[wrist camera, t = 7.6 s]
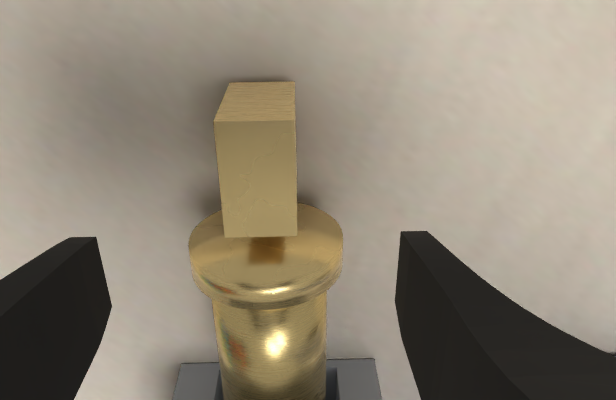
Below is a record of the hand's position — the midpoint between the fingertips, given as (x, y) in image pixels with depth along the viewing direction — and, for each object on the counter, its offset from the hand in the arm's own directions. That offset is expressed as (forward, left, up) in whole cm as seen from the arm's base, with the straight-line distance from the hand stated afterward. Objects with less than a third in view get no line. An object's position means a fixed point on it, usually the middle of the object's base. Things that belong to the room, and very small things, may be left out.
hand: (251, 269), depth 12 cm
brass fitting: (0, +5, -10) cm, 11 cm away
